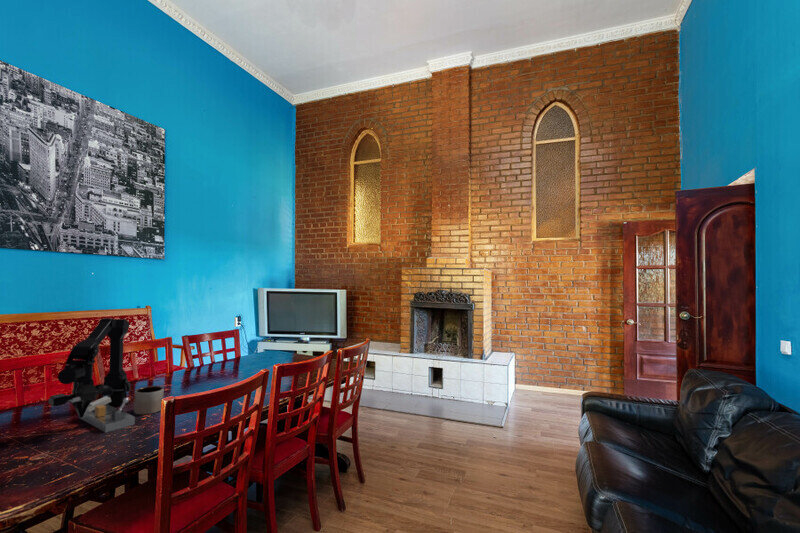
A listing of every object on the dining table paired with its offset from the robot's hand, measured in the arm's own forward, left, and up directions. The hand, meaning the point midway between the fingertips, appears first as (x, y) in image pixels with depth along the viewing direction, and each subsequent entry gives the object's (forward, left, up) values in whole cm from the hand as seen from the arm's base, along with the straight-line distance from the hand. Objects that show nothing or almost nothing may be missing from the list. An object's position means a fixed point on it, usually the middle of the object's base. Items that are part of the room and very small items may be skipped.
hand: (80, 417), depth 150 cm
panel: (-9, 0, -4) cm, 10 cm away
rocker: (-9, -8, 0) cm, 12 cm away
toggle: (-9, +9, 0) cm, 12 cm away
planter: (-24, 0, -4) cm, 25 cm away
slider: (-6, 0, -1) cm, 6 cm away
